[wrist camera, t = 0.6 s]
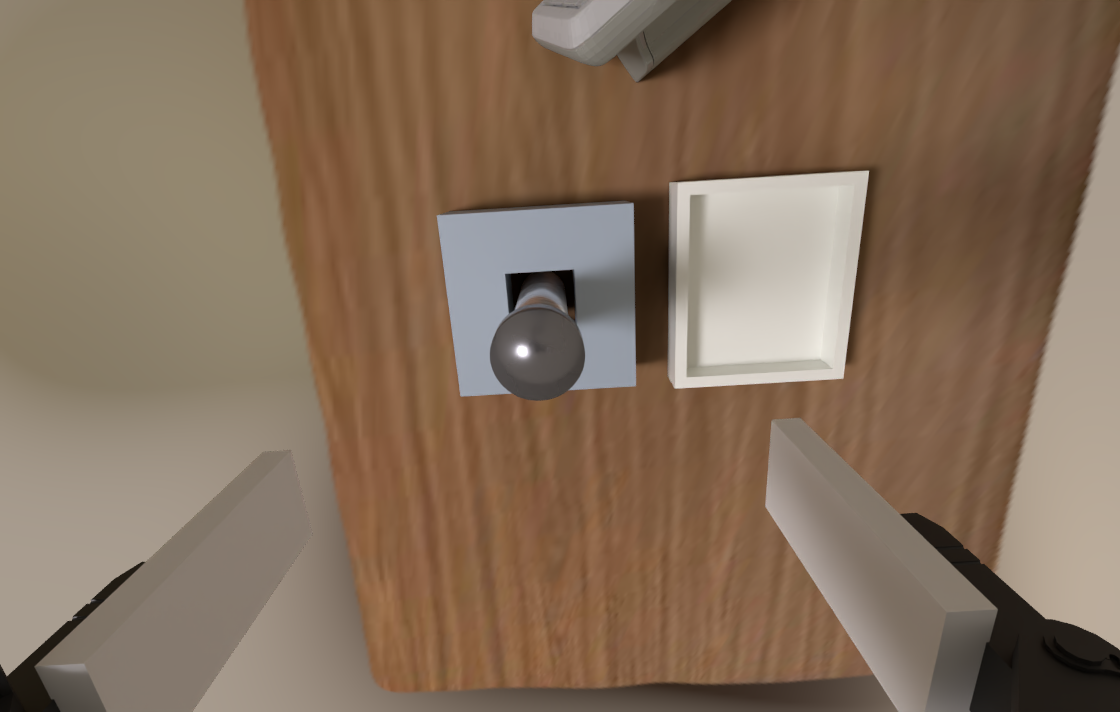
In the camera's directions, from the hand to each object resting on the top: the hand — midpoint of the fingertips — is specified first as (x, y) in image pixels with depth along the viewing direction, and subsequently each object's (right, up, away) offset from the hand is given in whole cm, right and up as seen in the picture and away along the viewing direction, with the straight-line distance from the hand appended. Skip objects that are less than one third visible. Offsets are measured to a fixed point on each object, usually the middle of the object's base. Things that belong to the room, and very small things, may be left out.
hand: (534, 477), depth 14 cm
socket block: (0, +8, +23) cm, 24 cm away
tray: (+14, +9, +23) cm, 29 cm away
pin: (0, +8, +23) cm, 24 cm away
